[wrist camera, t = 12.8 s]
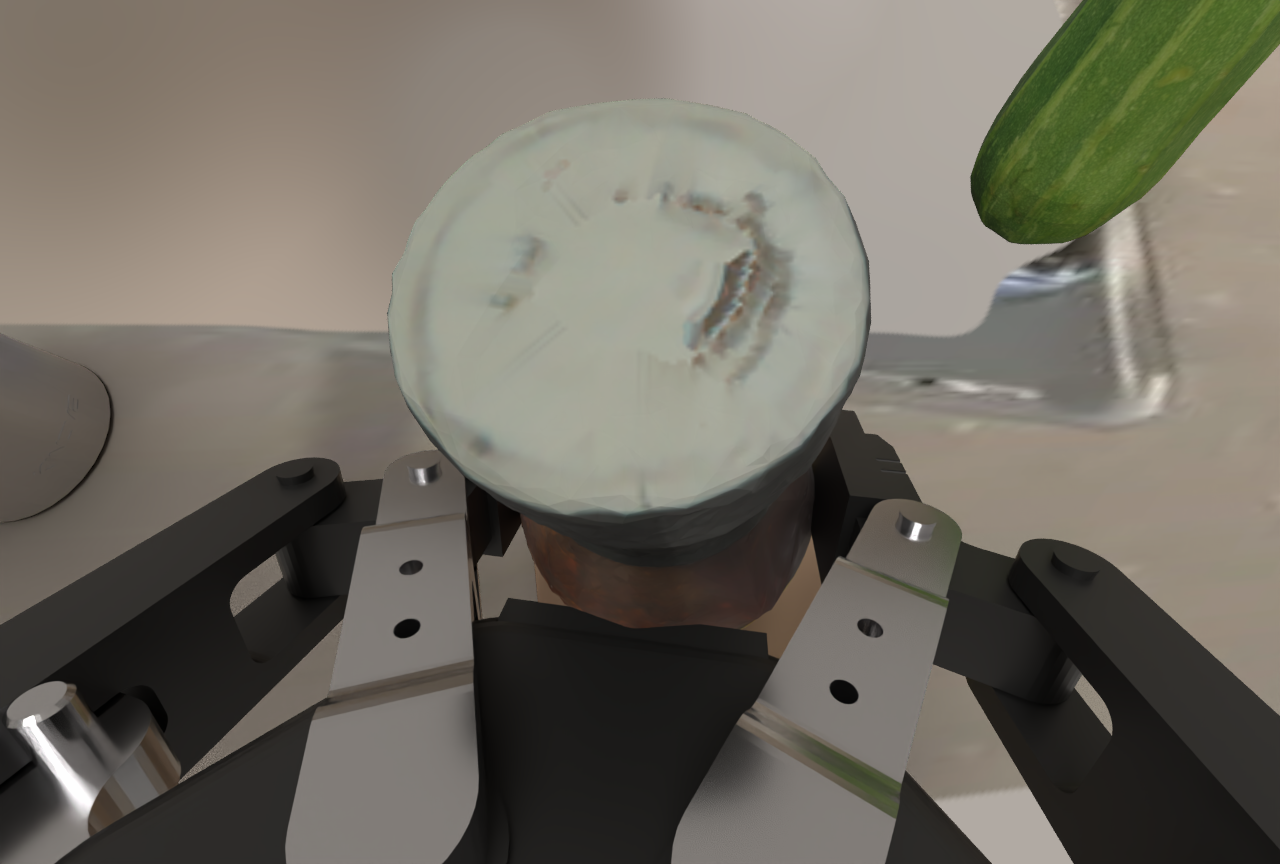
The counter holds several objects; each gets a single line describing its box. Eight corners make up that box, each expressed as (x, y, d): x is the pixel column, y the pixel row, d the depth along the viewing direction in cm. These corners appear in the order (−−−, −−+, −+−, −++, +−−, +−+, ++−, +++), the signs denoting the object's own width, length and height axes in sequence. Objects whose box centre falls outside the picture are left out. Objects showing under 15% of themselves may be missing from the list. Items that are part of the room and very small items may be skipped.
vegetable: (934, 253, 29) (1388, -396, 10) (956, 147, 31) (1375, -569, 12) (1084, 284, 28) (1913, -387, 9) (1098, 172, 30) (1809, -581, 11)
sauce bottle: (789, 573, 23) (1343, 377, 4) (668, 672, 22) (578, 1072, 3) (689, 451, 24) (713, -92, 6) (573, 538, 24) (144, 247, 5)
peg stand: (558, 730, 24) (508, 778, 17) (531, 446, 28) (481, 396, 21) (858, 684, 24) (925, 714, 17) (786, 402, 28) (817, 337, 21)
